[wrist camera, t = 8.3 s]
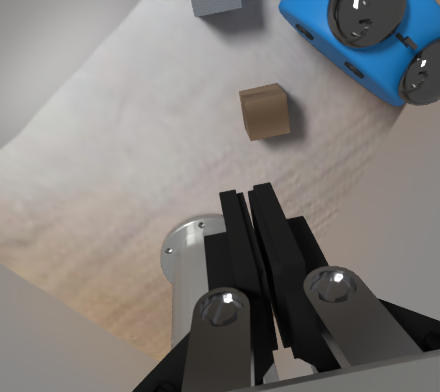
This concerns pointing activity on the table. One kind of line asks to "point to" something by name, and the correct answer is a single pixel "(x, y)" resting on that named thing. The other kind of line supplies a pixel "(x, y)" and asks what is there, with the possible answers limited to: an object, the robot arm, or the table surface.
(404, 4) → the alarm clock
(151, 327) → the table surface
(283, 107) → the walnut block
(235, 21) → the table surface
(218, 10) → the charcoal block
